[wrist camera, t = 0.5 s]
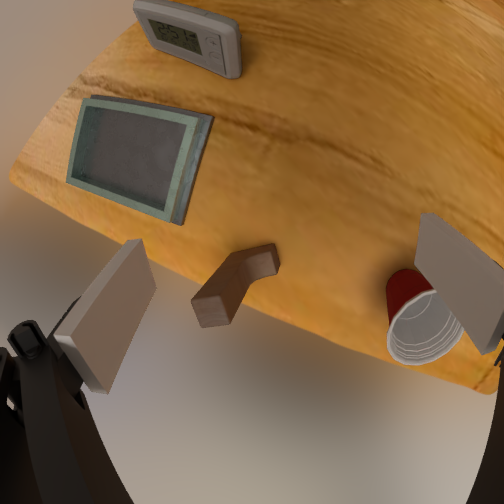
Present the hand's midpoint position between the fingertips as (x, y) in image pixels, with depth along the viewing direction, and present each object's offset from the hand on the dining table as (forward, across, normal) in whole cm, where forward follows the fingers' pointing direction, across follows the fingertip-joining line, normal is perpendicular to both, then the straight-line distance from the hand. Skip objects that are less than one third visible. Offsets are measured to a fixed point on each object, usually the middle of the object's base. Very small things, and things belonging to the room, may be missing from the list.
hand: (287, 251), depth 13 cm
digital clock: (+31, -7, +17) cm, 36 cm away
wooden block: (+25, -3, -14) cm, 28 cm away
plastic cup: (+20, +18, -18) cm, 33 cm away
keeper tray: (+30, -20, +4) cm, 37 cm away
